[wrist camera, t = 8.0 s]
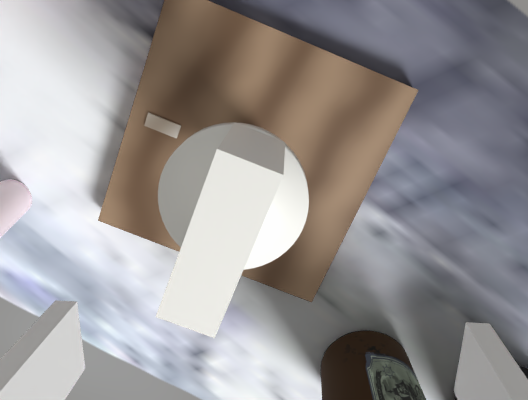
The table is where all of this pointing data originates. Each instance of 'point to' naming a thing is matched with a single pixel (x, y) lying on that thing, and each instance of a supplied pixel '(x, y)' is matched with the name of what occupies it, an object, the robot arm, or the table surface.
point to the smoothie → (12, 203)
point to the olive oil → (368, 369)
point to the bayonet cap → (226, 216)
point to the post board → (261, 115)
